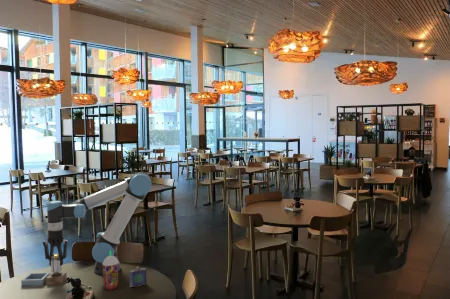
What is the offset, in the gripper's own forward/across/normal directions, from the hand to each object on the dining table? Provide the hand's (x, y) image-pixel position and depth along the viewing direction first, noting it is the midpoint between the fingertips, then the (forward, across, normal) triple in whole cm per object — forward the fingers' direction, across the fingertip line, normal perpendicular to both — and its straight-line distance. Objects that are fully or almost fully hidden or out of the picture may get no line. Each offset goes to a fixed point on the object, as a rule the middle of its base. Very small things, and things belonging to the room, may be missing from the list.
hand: (56, 271), depth 213 cm
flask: (+6, +46, -10) cm, 48 cm away
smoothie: (+6, +32, -11) cm, 34 cm away
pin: (+6, 0, 0) cm, 6 cm away
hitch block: (+6, 0, 0) cm, 6 cm away
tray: (+6, -11, 0) cm, 13 cm away
